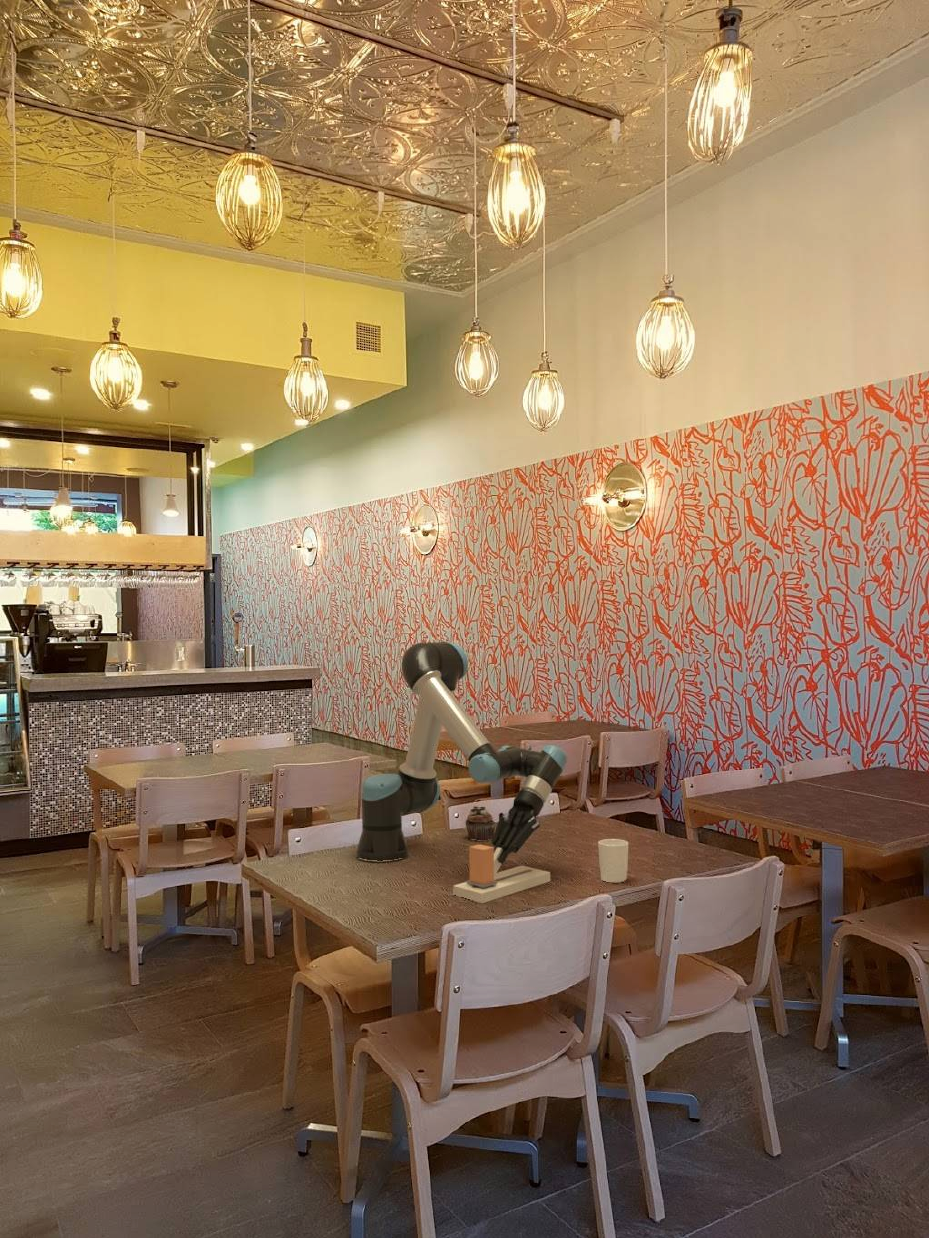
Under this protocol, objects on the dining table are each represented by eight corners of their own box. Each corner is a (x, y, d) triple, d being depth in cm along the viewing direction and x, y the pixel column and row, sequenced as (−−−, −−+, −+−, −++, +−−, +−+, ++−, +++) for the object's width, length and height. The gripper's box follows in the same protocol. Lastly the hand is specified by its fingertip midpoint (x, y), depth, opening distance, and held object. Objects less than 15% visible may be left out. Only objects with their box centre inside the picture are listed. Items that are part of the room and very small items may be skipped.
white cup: (610, 886, 232) (610, 847, 232) (592, 878, 239) (592, 841, 239) (635, 881, 236) (634, 843, 236) (616, 874, 243) (616, 837, 243)
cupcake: (496, 841, 282) (495, 809, 282) (465, 842, 282) (465, 810, 282) (495, 834, 292) (495, 803, 292) (465, 835, 292) (465, 804, 292)
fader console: (521, 874, 244) (521, 865, 244) (550, 881, 237) (550, 871, 237) (453, 895, 226) (453, 885, 226) (482, 903, 219) (481, 892, 219)
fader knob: (480, 879, 230) (479, 843, 230) (497, 883, 226) (496, 847, 226) (466, 883, 226) (465, 846, 226) (483, 887, 222) (483, 850, 222)
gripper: (557, 808, 237) (516, 885, 225) (520, 802, 246) (479, 875, 234) (544, 791, 234) (501, 868, 222) (507, 785, 243) (464, 859, 231)
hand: (490, 872), depth 228 cm, fingers closed
